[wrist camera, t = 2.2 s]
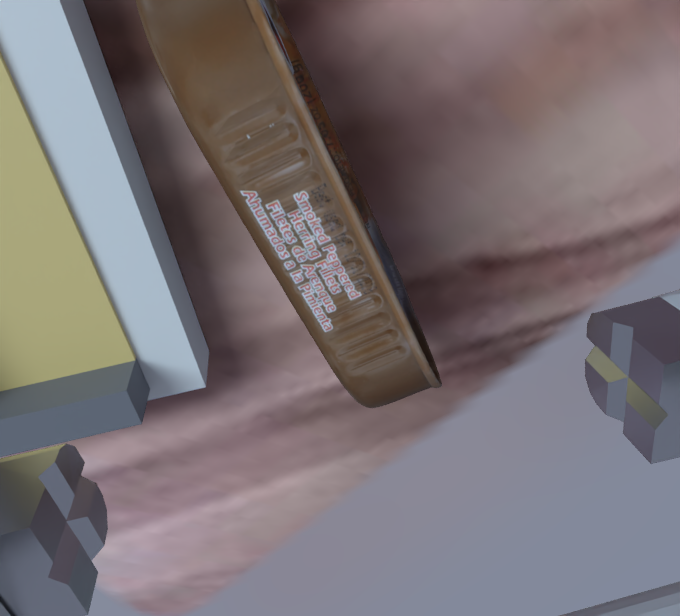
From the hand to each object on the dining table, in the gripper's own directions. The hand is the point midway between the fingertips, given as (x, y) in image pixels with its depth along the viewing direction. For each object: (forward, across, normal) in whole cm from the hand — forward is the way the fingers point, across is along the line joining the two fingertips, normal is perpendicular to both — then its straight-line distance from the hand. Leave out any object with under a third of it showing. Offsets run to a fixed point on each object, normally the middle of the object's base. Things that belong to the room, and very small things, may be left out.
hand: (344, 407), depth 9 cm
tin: (+14, -1, 0) cm, 14 cm away
